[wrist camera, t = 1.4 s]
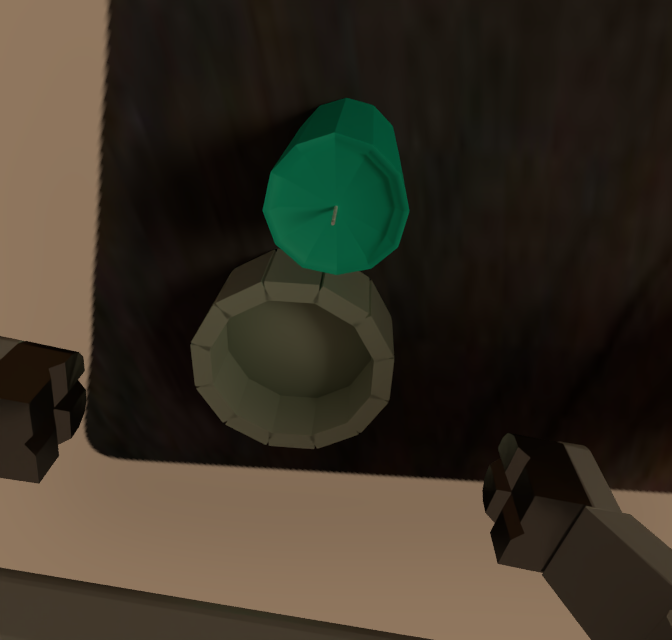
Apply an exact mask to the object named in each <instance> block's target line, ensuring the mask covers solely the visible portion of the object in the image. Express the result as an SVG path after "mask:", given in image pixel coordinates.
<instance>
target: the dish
mask: <svg viewBox="0 0 672 640" xmlns="http://www.w3.org/2000/svg"><path fill="white" fill-rule="evenodd" d="M190 346H191V355H192V364H193V373H194V382H195V386H197V388H196V389H197V390H198V392H199V393H200V394H201V395H202V397H203V398H204V399H205V400H206V402H207V403H208V404H209V406H210V407H211V408H212V409H213V411H214V412H215V413H216V415H217V416H218V417H219V418H220V420H221V421H222V422H226V424H225V425H227V426H229V427H231V428H233V429H235V430H237V431H239V432H241V433H243V434H245V435H247V436H249V437H251V438H253V439H255V440H257V441H259V442H261V443H263V444H265V445H266V444H267V443H268V441H269V446H279V447H292V448H305V449H314V448H315V446H316V448H317V449H318V448H321V447H324V446H327V445H330V444H333V443H336V442H339V441H341V440H344V439H347V438H350V437H353V436H356V435H358V433H359V432H360V433H361V432H362V431H363V430H364V429H365V428H366V427H367V426H368V425H369V423H370V422H371V421H372V420H373V419H374V418H375V417H376V416H377V415H378V413H379V412H380V411H381V410H382V409H383V408H384V407H385V406H386V405H387V403H388V400H389V399H390V391H391V383H392V374H393V366H394V347H393V330H392V320H391V316H390V314H389V312H388V310H387V308H386V306H385V304H384V302H383V300H382V299H381V297H380V295H379V293H378V291H377V289H376V287H375V285H374V283H373V282H372V280H370V281H369V277H368V276H366V275H364V274H363V273H361V272H360V271H356V272H351V273H345V274H340V275H334V274H329V273H325V272H320V271H315V270H311V269H306V268H302V267H301V266H300V265H299V264H297V263H296V262H295V261H294V260H293V259H292V258H291V257H289V256H288V255H287V254H286V253H285V252H284V251H283V250H281V249H277V252H276V251H275V249H274V250H272V251H270V252H268V253H266V254H264V255H262V256H260V257H258V258H256V259H253V260H251V261H249V262H247V263H245V264H243V265H241V266H239V267H237V268H235V269H234V270H233V271H232V272H231V274H230V275H229V277H228V279H227V280H226V282H225V284H224V285H223V287H222V289H221V290H220V292H219V294H218V295H217V297H216V299H215V301H214V302H213V304H212V306H211V307H210V309H209V311H208V313H207V315H206V316H205V318H204V320H203V322H202V323H201V325H200V327H199V329H198V331H197V332H196V334H195V336H194V338H193V340H192V341H191V345H190Z"/></svg>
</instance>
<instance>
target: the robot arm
mask: <svg viewBox="0 0 672 640" xmlns="http://www.w3.org/2000/svg"><path fill="white" fill-rule="evenodd" d="M84 371H85V369H84V360H83V356H82V355H81V354H80V353H79V352H76V351H71V350H66V349H61V348H56V347H52V346H47V345H42V344H37V343H33V342H28V341H21V340H17V339H12V338H6V337H1V336H0V478H6V479H12V480H19V481H26V482H34V483H40V481H41V480H42V479H43V477H44V476H45V475H46V473H47V472H48V470H49V469H50V467H51V466H52V465H53V463H54V462H55V461H56V459H57V458H58V456H59V452H58V444H61V443H63V442H65V441H67V440H69V439H71V438H72V436H73V435H74V433H75V432H76V430H77V429H78V428H79V425H80V423H81V420H82V418H83V415H84V412H85V406H86V389H85V388H84V387H83V386H82V384H81V383H80V382H79V381H78V379H79V378H80V376H81V375H82V374H83V372H84ZM498 450H499V453H500V457H501V458H500V459H498V460H497V461H495V462H493V463H492V464H490V466H489V468H488V470H487V473H486V475H485V478H484V485H483V503H484V508H485V513H486V514H487V515H488V516H489V517H490V518H491V519H492V520H493V521H494V522H495V524H494V526H493V528H492V530H491V532H490V534H491V538H492V542H493V546H494V550H495V554H496V558H497V563H498V564H502V565H507V566H512V567H517V568H521V569H526V570H531V571H536V572H541V573H543V574H542V576H543V577H544V578H545V579H546V581H547V582H548V584H549V585H550V586H551V587H552V589H553V590H554V591H555V593H556V594H557V595H558V597H559V598H560V599H561V601H562V602H563V603H564V605H565V606H566V607H567V608H568V610H569V611H570V612H571V614H572V615H573V616H574V618H575V619H576V620H577V622H578V623H579V624H580V626H581V627H582V628H583V630H584V631H585V632H586V634H587V635H588V636H589V637H590V639H591V640H672V549H671V548H669V547H668V546H667V545H666V544H665V543H664V542H662V541H661V540H660V539H659V538H658V537H656V536H655V535H654V534H653V533H652V532H650V531H649V530H648V529H647V528H646V527H644V526H643V525H642V524H641V523H640V522H639V521H637V520H636V519H635V518H634V517H633V516H632V515H630V514H626V513H622V512H621V510H620V508H619V506H618V504H617V502H616V500H615V498H614V496H613V494H612V492H611V490H610V488H609V486H608V484H607V483H606V481H605V479H604V477H603V475H602V473H601V471H600V469H599V467H598V465H597V463H596V461H595V459H594V457H593V455H592V454H591V452H590V450H589V449H588V448H587V447H585V446H584V445H578V444H572V443H565V442H555V441H549V440H544V439H538V438H533V437H527V436H522V435H516V434H511V433H507V434H506V435H505V436H504V437H503V438H502V440H501V443H500V445H499V447H498ZM0 640H431V639H426V638H420V637H413V636H407V635H400V634H395V633H389V632H383V631H377V630H371V629H365V628H359V627H353V626H347V625H341V624H335V623H329V622H323V621H317V620H311V619H305V618H299V617H293V616H287V615H281V614H275V613H269V612H263V611H257V610H251V609H245V608H239V607H233V606H227V605H221V604H215V603H209V602H203V601H197V600H191V599H185V598H179V597H173V596H167V595H161V594H155V593H149V592H144V591H137V590H132V589H126V588H119V587H113V586H108V585H101V584H96V583H89V582H83V581H78V580H71V579H66V578H59V577H53V576H47V575H41V574H35V573H29V572H23V571H17V570H11V569H5V568H0Z"/></svg>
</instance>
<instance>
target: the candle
mask: <svg viewBox="0 0 672 640" xmlns="http://www.w3.org/2000/svg"><path fill="white" fill-rule="evenodd" d="M262 211H263V213H264V216H265V219H266V221H267V224H268V227H269V229H270V232H271V234H272V237H273V240H274V242H275V244H276V245H277V246H278V247H279V248H280V249H281V250H283V251H284V252H285V253H286V254H287V255H288V256H289V257H291V258H292V259H293V260H294V261H295V262H296V263H297V264H299V265H300V266H301V267H302V268H306V269H311V270H315V271H320V272H325V273H329V274H334V275H340V274H345V273H351V272H356V271H361V270H367V269H371V268H373V267H374V266H375V265H376V264H378V263H379V262H380V261H381V260H383V259H384V258H385V257H386V256H388V255H389V254H390V253H391V252H393V251H394V250H395V249H397V248H398V246H399V243H400V239H401V236H402V233H403V230H404V227H405V224H406V220H407V217H408V214H409V206H408V201H407V195H406V190H405V185H404V179H403V174H402V168H401V163H400V158H399V152H398V148H397V143H396V139H395V134H394V130H393V126H392V125H391V124H390V123H389V122H388V120H387V119H386V118H385V117H384V116H383V115H382V114H381V113H380V112H379V111H378V110H377V109H376V107H375V106H374V105H371V104H367V103H363V102H360V101H356V100H353V99H349V98H344V99H341V100H337V101H334V102H330V103H327V104H324V105H320V106H319V107H318V108H317V109H316V110H315V111H314V112H313V114H312V115H311V116H310V117H309V118H308V119H307V120H306V121H305V123H304V124H303V125H302V126H301V127H300V129H299V130H298V132H297V133H296V135H295V136H294V138H293V139H292V141H291V142H290V144H289V145H288V147H287V148H286V150H285V151H284V153H283V154H282V156H281V157H280V159H279V160H278V162H277V163H276V165H275V166H274V168H273V169H272V171H271V173H270V177H269V182H268V187H267V192H266V196H265V201H264V206H263V210H262Z"/></svg>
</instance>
